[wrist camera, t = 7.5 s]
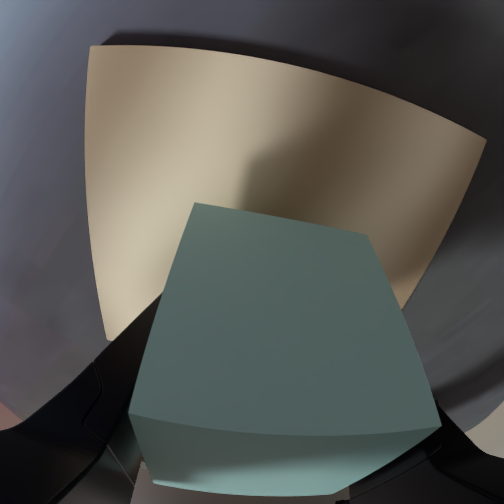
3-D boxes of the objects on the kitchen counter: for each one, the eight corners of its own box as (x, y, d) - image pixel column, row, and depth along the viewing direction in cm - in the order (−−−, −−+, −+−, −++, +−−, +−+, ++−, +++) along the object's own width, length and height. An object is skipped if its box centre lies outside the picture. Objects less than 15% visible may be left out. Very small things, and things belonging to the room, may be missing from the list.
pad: (477, 134, 9) (487, 139, 8) (354, 365, 16) (356, 373, 16) (99, 45, 7) (90, 46, 7) (110, 330, 15) (107, 339, 14)
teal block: (366, 234, 9) (441, 425, 4) (314, 342, 12) (331, 493, 7) (194, 202, 9) (128, 412, 4) (183, 324, 11) (153, 483, 7)
